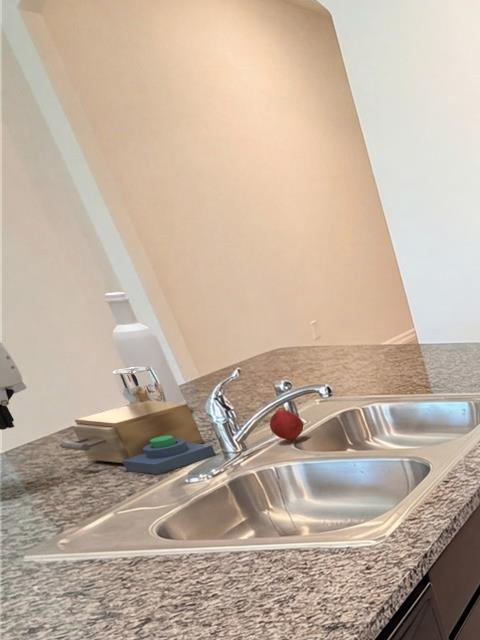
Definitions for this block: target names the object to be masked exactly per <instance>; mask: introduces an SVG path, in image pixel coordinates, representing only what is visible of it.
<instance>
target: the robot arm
mask: <svg viewBox="0 0 480 640" xmlns="http://www.w3.org/2000/svg"><path fill="white" fill-rule="evenodd" d="M26 389H27V386H26V384H25V383H24V382H23V376H22V373H21V371H20V369H19V368H18V366H17V364H16V362H15V360H14V359H13V358H12V356H11V354H10V353H9V351H8V349H7V348H6V347H5V345H4V344H3V342H1V341H0V430H1V431H2V430H3V431H4V430H7V429H12V428H15V424H14V421H15V419H14V418H13V416H12V413H11V412H10V410H9V408H8V405H9V404H10V400H11V398H12V397H13V395H15V394H17V393H19V392H23V391H24V390H26Z"/></svg>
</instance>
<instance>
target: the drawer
mask: <svg viewBox="0 0 480 640" xmlns="http://www.w3.org/2000/svg"><path fill="white" fill-rule="evenodd" d="M71 428H72V430H73V431H74V433H75V435H76V437H77V440H74V441H73V440H72V441H61V442H60V444H59V446H60V448H62V449H65V450H72V451H73V450H74V451H82V452H83V451H84V453H85V455H86V456H87V458H88V459H89V460H95V461H97V460H104V461H103V462H105V461H113V462H112V463H114V462H122V460H126V459H129V458H130V457H129V455H128V453H127V451H126V449H125V447H124V445H123V443H122V441H121V439H120V437H119V435H118V433H117V431H116V429H115V427H112V426H102V425H91V424H90V425H84V424H76V423H75V424H73V425H71ZM121 464H123V462H122V463H121Z"/></svg>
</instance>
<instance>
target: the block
mask: <svg viewBox="0 0 480 640" xmlns="http://www.w3.org/2000/svg"><path fill="white" fill-rule="evenodd" d="M174 440H175V442H176V444H174V445H171V446H168V447H163V448H153V447H152V445H151V444H149V445H147V446H145V447H143V450H144V452H145V453H144V454H141V455H138V456H135V457H132V458H129V459H126V460H122V462H123V463H122V464H123V466H124V468H125V470H126V471H127V472H134V473H144V474H151V475H152V474H153V475H161V474H165V473H167V472H171V471H173V470H176V469H180V468H183V467H185V466H187V465H191V464H193V463H196V462H199V461H201V460H205V459H208V458H210V457H213V456H216V452H215V449H214V447H213V445H212V444H204V443H201V444H194V443H186V442H185V440H183V439H174Z"/></svg>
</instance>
